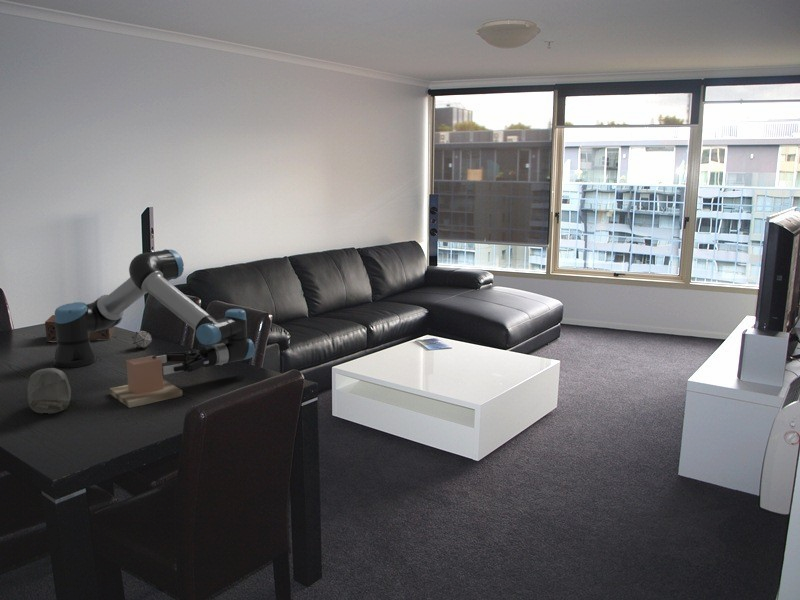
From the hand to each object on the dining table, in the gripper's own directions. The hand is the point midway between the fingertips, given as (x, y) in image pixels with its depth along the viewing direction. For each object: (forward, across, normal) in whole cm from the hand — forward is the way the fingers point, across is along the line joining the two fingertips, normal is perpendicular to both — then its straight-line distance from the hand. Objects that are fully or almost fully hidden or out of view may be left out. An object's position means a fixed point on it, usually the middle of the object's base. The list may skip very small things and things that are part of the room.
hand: (155, 366), depth 225 cm
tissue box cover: (-4, +98, -10) cm, 98 cm away
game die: (-18, +61, -10) cm, 65 cm away
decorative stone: (+32, +7, -10) cm, 34 cm away
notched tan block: (+4, +1, -8) cm, 8 cm away
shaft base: (+4, +1, -10) cm, 10 cm away
